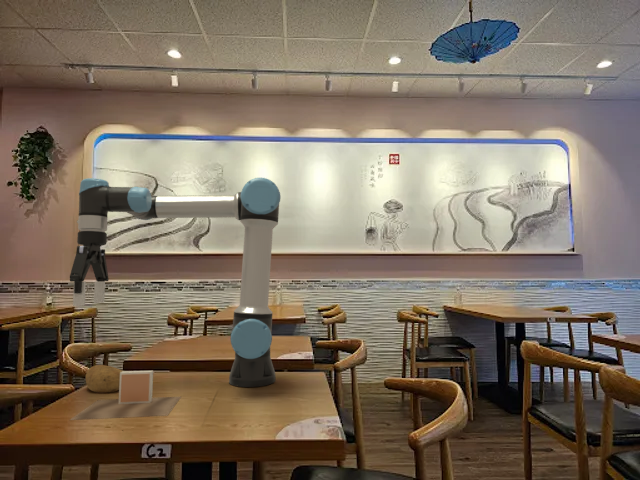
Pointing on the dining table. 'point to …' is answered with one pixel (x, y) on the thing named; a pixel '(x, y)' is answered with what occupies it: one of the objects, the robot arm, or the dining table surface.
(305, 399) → the dining table surface
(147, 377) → the tile
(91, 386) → the potato
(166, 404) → the board
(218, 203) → the robot arm
